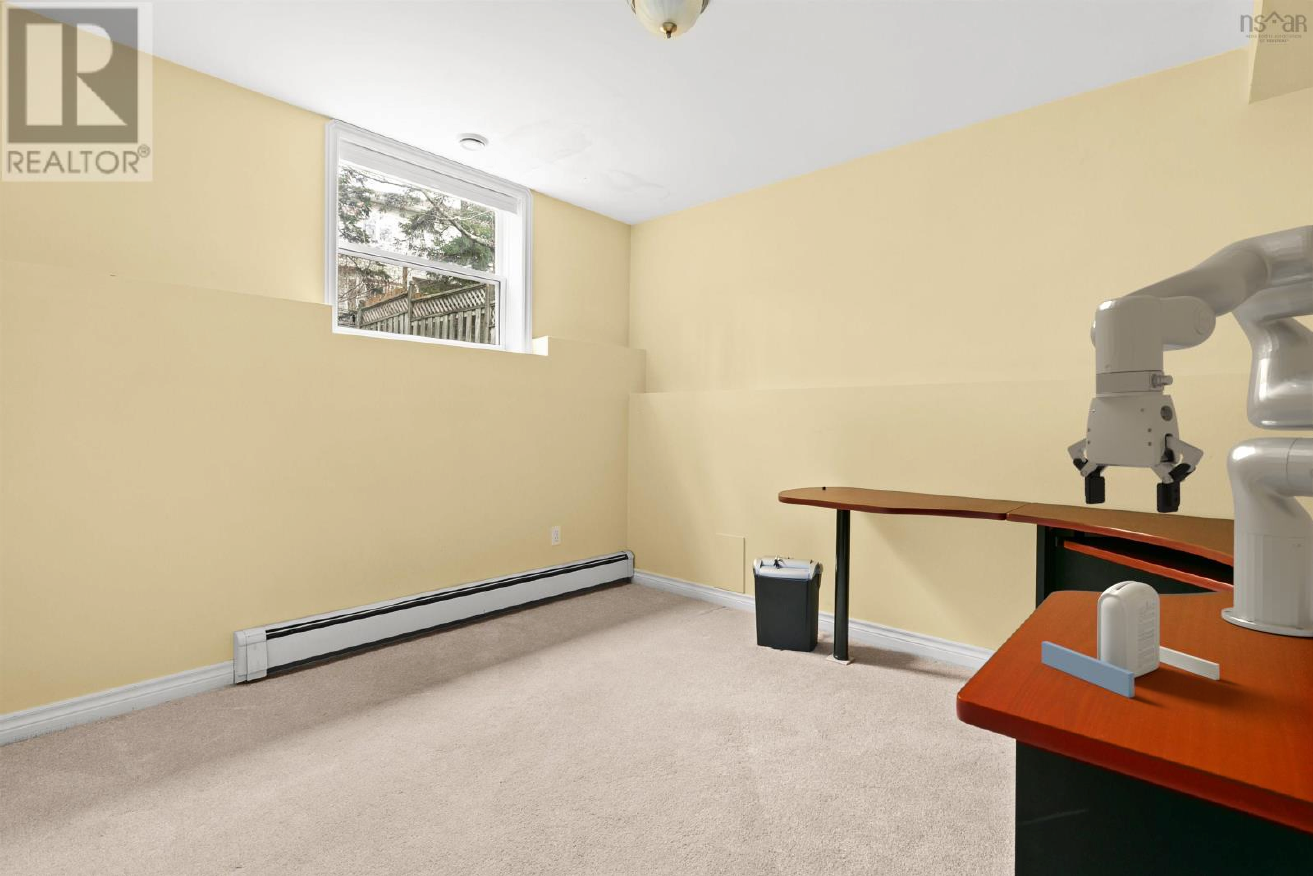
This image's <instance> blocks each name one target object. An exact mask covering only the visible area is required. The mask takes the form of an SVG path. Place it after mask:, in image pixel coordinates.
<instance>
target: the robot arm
mask: <svg viewBox="0 0 1313 876" xmlns="http://www.w3.org/2000/svg"><path fill="white" fill-rule="evenodd" d="M1094 313H1095V316H1094V320H1093V321H1092V324H1091V326H1090V332H1089V333H1090V341H1091V343H1092V345H1093V346H1094V348H1095V351H1094V353H1095V397H1092V398H1091V401H1090V404H1089V409H1088V410H1089V411H1088V416H1087V423H1086V433H1085V435H1086V436H1085V438H1082V439H1081V440H1079V441H1077V442H1075V443H1073V444H1071V445H1069V446H1068V447H1067V452H1068V454H1069V456H1070V458H1071V460H1072V464H1073V465H1074V467H1075V468H1076V469H1077V470H1078V471H1079V475H1080V476H1081V477H1083V478H1084V497H1085V498H1084V499H1085V500H1084V501H1085V504H1086V505H1099V504H1101V505H1102V504H1104V503H1106V478H1105V476H1104V475H1103V476H1102V475H1101V474H1102V473H1103V472H1104V471H1105V470H1106V469H1107V468H1108V467H1122V468H1139V469H1140V468H1142V469H1143V468H1144V469H1148V468H1149V469H1150V470H1152V471H1153V472H1154V473H1155V475H1156V476H1157V478H1159V479H1160V481H1161V482H1157V484H1156V511H1157V512H1158V513H1159V514H1169V513H1170V514H1171V513H1178V512H1179V507H1180V505H1181V483H1183V482H1185V481H1186V478H1187V477H1189V476H1191V474H1192V473H1194V472H1195V471H1196V468H1197V465H1198V464H1199V463H1200V461H1201V459H1202V458H1203V456H1204V451H1203V449H1200V448H1198V447H1196V446H1194V445H1192V444H1191V443H1190V444H1189V443H1188V442H1185V441H1184V440H1181V438H1180V430H1179V423H1178V418H1177V417H1178V416H1177V411H1176V408H1175V404H1174V402H1173V398H1172V395H1171V394H1164V391H1165V387H1166V386H1171V385H1172V384H1173V382H1174V378H1173V376H1172V375H1169V374H1166V375H1165V371H1164V352H1171V351H1172V352H1173V351H1179V350H1186V349H1191V348H1194V347H1198V346H1200V345H1201V344H1203V343H1205V342H1206V341H1207V340H1208V339H1209V338H1210V337H1211V336H1212V335H1213V333H1214V331H1215V329H1216V324H1217V318H1219V317H1222V316H1224V315H1227V314H1229V313H1231V314H1232V315H1233V318H1234V320H1236V322H1237V323H1238V325H1239V327H1240V329H1242V331H1243V332H1244V334H1245V336H1246V337H1247V340H1248V342H1249V344H1250V347H1251V364H1250V365H1251V366H1250V373H1249V382H1248V388H1247V397H1246V417H1247V419H1248V422H1249V423H1250V424H1251V425H1252V426H1254V427H1256V428H1258V429H1262V430H1268V431H1282V432H1283V431H1286V432H1291V431H1292V432H1293V431H1294V432H1299V431H1300V432H1302V431H1303V432H1305V431H1306V432H1311V431H1312V432H1313V331H1312V330H1311V329H1310V328H1308V327H1307V326H1306V325H1304V324H1302V323H1301V322H1300V321H1298V320H1296V319H1295V318H1296V317H1306V316H1312V315H1313V224H1309V225H1302V226H1297V227H1293V228H1288V229H1283V230H1279V231H1275V232H1270V233H1266V234H1262V235H1256V236H1253V237H1248V238H1245V239H1241V240H1237V241H1235V242H1231V243H1230V244H1228V245H1226V246H1224V247H1223V248H1221V249H1219V250H1218V251H1216V252H1215V253H1213V254H1212V255H1211V256H1209V257H1207V258H1206V259H1204V260H1203V261H1201V262H1200V263H1198V264H1197V265H1195V266H1194V267H1192V268H1190V269H1188V270H1185V271H1182V272H1179V273H1176V274H1174V275H1171V276H1169V277H1167V278H1164V279H1163V280H1160V281H1158V282H1154V283H1153V284H1149V285H1147V286H1144V287H1142V288H1139V289H1137V290H1134V291H1132V292H1130V293H1127V294H1125V295H1122V296H1121V297H1116V298H1112V299H1107V300H1105V301H1103V302H1101V303H1100V304H1099V305H1098V306H1097V308H1096V309H1095V312H1094ZM1084 452H1085V453H1086V457H1085V454H1084ZM1181 455H1182V459H1181ZM1226 455H1227V456H1226V470H1227V474H1228V479H1229V483H1230V488H1231V492H1232V501H1233V502H1232V503H1233V522H1234V523H1233V606H1232V607H1226V608H1223V609H1222V610H1221V618H1222V619H1224V620H1225V621H1227V622H1229V623H1232V624H1234V625H1237V626H1239V627H1243V628H1247V629H1251V630H1254V631H1261V632H1263V633H1264V632H1265V633H1270V634H1277V635H1283V636H1290V637H1291V636H1292V637H1293V636H1294V637H1306V638H1307V637H1308V638H1311V637H1312V638H1313V518H1312V516H1311V514H1310V513H1309V512H1308V511H1307V510H1306V509H1305V508H1304V506H1303V505H1302V504H1301V503H1300V502H1299V500H1297V499H1296V498H1295V497H1308V498H1313V437H1293V436H1292V437H1290V436H1289V437H1288V436H1287V437H1279V436H1274V437H1273V436H1271V437H1270V436H1266V437H1256V438H1248V439H1244V440H1242V441H1239V442H1237V443H1235V444H1234V445H1233V446H1232V447H1231V448H1230V450H1229V451H1228V453H1227V454H1226ZM1180 461H1181V462H1180Z"/></svg>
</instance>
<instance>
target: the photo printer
mask: <svg viewBox="0 0 1313 876" xmlns="http://www.w3.org/2000/svg"><path fill="white" fill-rule="evenodd" d="M1160 602H1161V599H1160V596H1159V594H1158V592H1157V591H1156V590H1155V589H1154V588H1153V587H1152V586H1151V585H1149V584H1147V583H1143V582H1139V581H1138V582H1137V581H1134V580H1127V581H1122V582H1118V583H1115V584H1114V585H1112V586H1110V587H1108V588H1107V589H1106V590H1105V591H1103V592H1102V593H1101V595H1100V596H1099V598H1098V600H1097V623H1096V624H1097V627H1096V628H1097V629H1096V631H1097V632H1096V635H1097V639H1096V641H1097V643H1096V647H1097V648H1096V649H1097V650H1096V651H1097V652H1096V653H1097V655H1096V656H1097V658H1096V659H1097V660H1100V661H1103V662H1106V663H1108V664H1111V665H1114V666H1117V667H1119V668H1122V669H1125V670H1128V671H1130V672H1133V673H1134V679H1135V678H1138V677H1141V676H1143V675H1145V674H1148V673H1150V672H1153V671H1155V670H1157V669H1158V668H1159V666H1160V646H1161V645H1160V635H1161V634H1160V626H1161V625H1160V623H1161V622H1160V621H1161V620H1160V618H1161V617H1160V615H1161V614H1160V613H1161V610H1160V609H1161V605H1160V604H1161V603H1160Z"/></svg>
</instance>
